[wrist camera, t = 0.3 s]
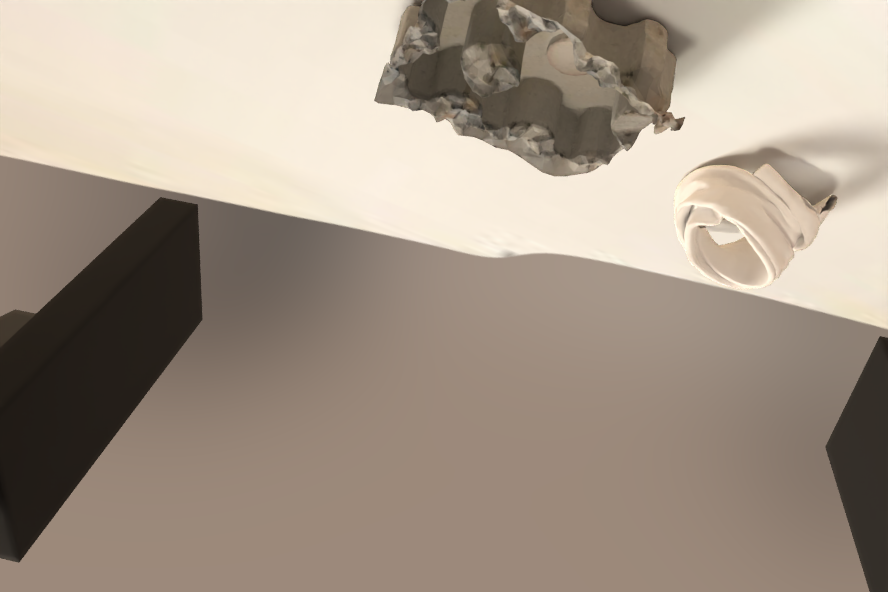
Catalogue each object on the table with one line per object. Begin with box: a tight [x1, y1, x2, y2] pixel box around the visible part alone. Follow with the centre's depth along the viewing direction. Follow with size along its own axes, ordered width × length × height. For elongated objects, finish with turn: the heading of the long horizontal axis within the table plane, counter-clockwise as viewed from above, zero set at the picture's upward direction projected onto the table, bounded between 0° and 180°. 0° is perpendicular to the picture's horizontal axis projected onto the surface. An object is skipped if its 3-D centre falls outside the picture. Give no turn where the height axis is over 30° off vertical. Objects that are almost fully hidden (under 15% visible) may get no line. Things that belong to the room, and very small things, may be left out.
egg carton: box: [374, 0, 685, 176], centre depth 33 cm, size 11×8×4 cm
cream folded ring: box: [674, 164, 837, 289], centre depth 41 cm, size 8×7×5 cm
